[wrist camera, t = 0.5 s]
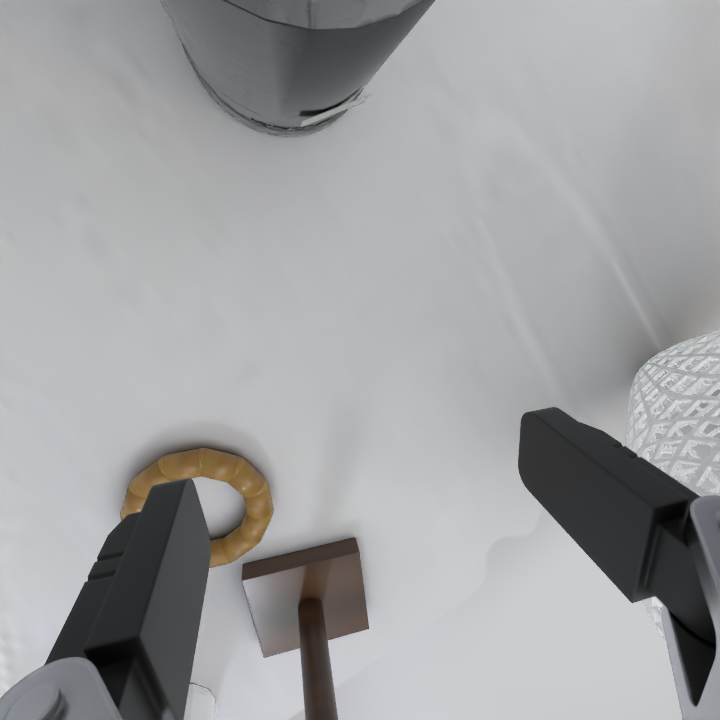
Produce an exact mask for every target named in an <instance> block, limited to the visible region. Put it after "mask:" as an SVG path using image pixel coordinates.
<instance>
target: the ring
mask: <svg viewBox="0 0 720 720" xmlns="http://www.w3.org/2000/svg"><path fill="white" fill-rule="evenodd" d="M196 477H206V478H210V479H215V480H219V481H224V482H227V483H228V484H230V485H231V486H232V487H233V488H234V489H236V490H237V491H238V492H239V493H240V494H242V495H243V498H244V502H245V505H246V509H247V512H246V514H245V516H244V519H243V521H242V523H241V525H240V526H239V527H238V528H236V529H235V530H234V531H232V532H231V533H230V534H228V535H227V536H226V537H224V538H220V539H215V540H211V541H210V545H211V557H210V565H209V568H212V567H216V566H221V565H225V564H229V563H232V562H234V561H235V560H237V559H238V558H239V557H241V556H242V555H243V554H245V553H246V552H247V551H249V550H250V549H252V548H253V547H254V546H256V545H257V544H258V543H259V542H260V541H261V539H262V537H263V535H264V533H265V531H266V529H267V526H268V524H269V522H270V520H271V517H272V515H273V510H274V509H273V504H272V499H271V495H270V490H269V486H268V482H267V480H266V478H265V477H264V476H262V475H261V474H260V473H259V472H258V471H257V470H256V469H255V468H254V467H252V466H251V465H250V464H249V463H248V462H247V461H246V460H245V459H243V458H242V457H240V456H237V455H233V454H229V453H224V452H220V451H216V450H212V449H208V448H199V449H194V450H189V451H183V452H178V453H173V454H168V455H164V456H162V457H161V458H159V459H158V460H157V461H155V462H154V463H153V464H152V465H150V466H149V467H148V468H146V469H145V470H144V471H142V472H141V473H140V474H138V475H137V476H136V477H135V478H134V479H133V480H132V481H131V483H130V485H129V488H128V491H127V494H126V497H125V500H124V503H123V506H122V509H121V512H120V518H121V521H122V520H123V519H124V518H125V517H126V516H127V515H128V514H132V513H137V512H141V510H142V508H143V506H144V503H145V501H146V499H147V496H148V494H149V491H150V489H151V487H152V486H153V485H156V484H161V483H166V482H171V481H176V480H181V479H186V478H196Z"/></svg>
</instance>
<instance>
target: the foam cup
mask: <svg viewBox="0 0 720 720" xmlns="http://www.w3.org/2000/svg"><path fill="white" fill-rule="evenodd" d="M184 720H215V697H214V696H213V695H212V693H211V692H210V691H209V690H208V689H207V688H204V687H201V686H198V685H196V684H189V690H188V696H187V702H186V708H185V714H184Z"/></svg>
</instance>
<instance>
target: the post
mask: <svg viewBox="0 0 720 720" xmlns="http://www.w3.org/2000/svg"><path fill="white" fill-rule="evenodd" d="M242 583H243V587H244V590H245V594H246V597H247V601H248V604H249V608H250V611H251V615H252V618H253V622H254V625H255V629H256V632H257V636H258V639H259V643H260V646H261V650H262V653H263V657H264V658H265V657H269V656H273V655H276V654H280V653H283V652H287V651H291V650H294V649H298V648H300V650H301V664H302V678H303V692H304V706H305V720H338V715H337V708H336V701H335V693H334V686H333V678H332V671H331V664H330V656H329V649H328V641H327V640H330V639H334V638H337V637H341V636H345V635H348V634H352V633H355V632H359V631H363V630H366V629H369V625H368V617H367V609H366V601H365V593H364V585H363V577H362V569H361V561H360V553H359V549H358V545H357V541H356V538H352V539H348V540H344V541H339V542H335V543H331V544H327V545H323V546H318V547H314V548H310V549H306V550H302V551H298V552H293V553H289V554H285V555H281V556H277V557H272V558H268V559H264V560H260V561H256V562H252V563H247V564H243V569H242Z"/></svg>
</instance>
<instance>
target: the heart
mask: <svg viewBox="0 0 720 720" xmlns="http://www.w3.org/2000/svg"><path fill="white" fill-rule="evenodd" d="M716 346H718V347H717V348H715V349H714V350H713V351H708V352H706V350H708V349H709V348H711V347H716ZM694 351H696V352H694ZM677 352H678V353H677ZM690 352H694V353H693V354H688V353H690ZM684 359H685V360H684ZM695 359H701V360H698V361H693V360H695ZM666 360H670V361H669V362H668V363H666V364H664V362H665V361H666ZM681 360H684V361H683V362H682V363H681V364H680V365H677V364H676V362H678V361H681ZM715 360H718V361H717V362H716V363H714V364H713V365H712V366H711V365H710V362H709V361H715ZM692 361H693V362H692ZM693 363H696V364H695V365H694V366H693V365H692V364H693ZM705 364H706V366H704V365H705ZM673 365H675V366H676V368H670V367H672V366H673ZM687 365H690V366H691V368H690V369H689V370H686V369H684V368H685V367H686V366H687ZM700 368H707V369H706V371H705V372H703V373H700V372H696V371H697V370H699V369H700ZM719 368H720V330H717V331H714V332H711V333H708V334H705V335H702V336H699V337H696V338H693V339H690V340H687V341H684V342H681V343H679V344H676V345H674V346H672V347H670V348H668V349H666V350H664V351H662V352H660V353H658V354H656V355H655V356H653V357H652V358H651V359H649V360H648V361H647V362H646V363H645V364H644V365H643V366H642V367H641V368H640V369H639V371H638V372H637V374H636V376H635V378H634V380H633V383H632V388H631V392H630V398H629V407H628V420H627V434H626V447H627V448H629V449H630V450H632V451H633V452H635V453H636V454H637V456H638V457H642V458H644V459H645V460H647V461H648V462H650V463H651V464H653V465H654V466H656V467H658V468H659V469H660V470H662V471H663V472H665V473H666V474H668V475H669V476H671V477H672V478H674V476H680V477H681V479H682V481H678V480H677V481H678V482H680V483H681V484H683V485H684V486H686V487H687V488H689V489H690V490H692V491H693V492H695V493H697V494H699V496H701V497H703V496H711V495H715V493H717V492H719V491H720V480H719V479H718V478H717V477H716V476H715V475H714V474H713V473H712V472H711V469H714V470H717V471H720V463H717V462H718V461H720V438H712V437H713V436H715V435H716V434H718V433H719V432H720V418H718V417H717V416H718V415H719V414H720V393H719V394H718V396H710V395H711V394H712V393H713V392H714V391H716V390H717V389H719V390H720V374H713V373H714V372H715V371H716V370H718V369H719ZM666 371H667V372H668V373H666V374H665V372H666ZM656 372H657V373H656ZM662 374H663V376H662V377H660V376H661V375H662ZM675 375H678V376H680V378H679V379H677V380H674V379H673V377H674V376H675ZM692 378H693V379H692ZM657 379H658V380H657ZM656 380H657V381H656ZM670 380H671V381H673V382H674V383H673V384H672V385H671V386H669V385H668V384H667V382H669V381H670ZM686 380H690V381H693V382H692V383H691V384H689V385H688V386H686V385H684V384H682V383H683V382H684V381H686ZM706 380H707V381H714V382H713V383H712V384H709V383H705V381H706ZM658 382H659V383H658ZM651 384H652V385H651ZM650 385H651V386H650ZM664 385H665V386H666V387H668V388H667V389H665V388H663V386H664ZM702 385H706V386H709V387H707V388H706V389H705V390H704V391H703V392H699V391H698V390H699V389H700V388H701V386H702ZM679 386H682V387H684V388H685V389H684V390H683V391H681V392H680V393H679V392H678V391H676V390H675V389H677V388H678V387H679ZM638 388H639V389H638ZM647 388H648V389H647ZM646 389H647V390H646ZM658 391H660V392H661V394H660V395H657V394H656V393H657V392H658ZM694 394H697V395H694ZM653 395H654V396H655V398H654V399H652V398H651V397H652V396H653ZM666 398H667V400H668V401H669V402H670V403H669V404H668V405H667V406H666V407H665V406H664V404H663V403H662V402H663V401H664V400H665V399H666ZM672 399H673V400H672ZM640 400H641V401H640ZM648 400H650V401H649V402H648ZM684 402H687V403H688V405H687V406H686V407H685V408H684V409H683V410H682V409H681V408H680V407H679V406H680V405H681V404H683V403H684ZM650 403H651V405H649V404H650ZM701 403H710V404H709V405H708V406H707V407H705V408H704V409H702V408H700V407H699V405H700V404H701ZM659 405H660V406H661V407H662V409H663V410H661V411H657V407H658V406H659ZM712 407H713V408H712ZM675 408H676V410H677V411H678V412H679V414H678V415H677V416H676V417H673V418H672V417H671V415H670V412H671V411H672V410H673V409H675ZM711 408H712V409H711ZM644 409H645V410H644ZM694 409H696V410H698V411H699V413H698V414H696V415H695V416H692V417H688V415H689V414H690V413H691V412H693V411H694ZM710 409H711V410H710ZM709 410H710V411H709ZM653 411H654V412H653ZM708 411H709V412H708ZM639 412H640V416H639ZM703 415H704V416H703ZM655 416H656V417H655ZM666 416H667V417H668V418H666V419H664V418H665V417H666ZM647 417H648V423H649V424H648V425H647V426H646V425H645V419H646V418H647ZM689 424H690V425H691V426H692V427H693V428H692V429H691V430H690V432H689V433H688V434H687V435H686V436H684V435H683V434H682V432H681V431H680V428H682V427H684V426H686V425H689ZM708 424H716V425H718V426H719V427H718V428H716V429H715V430H713V431H712V432H710V433H709V434H707V435H706V434H705V433H704V432H703V430H704V429H705V428H706V427H707V426H708ZM668 425H669V427H667V428H664V426H668ZM657 427H660V428H657ZM639 428H640V429H641V432H640V433H639ZM675 431H676V433H677V434H678V437H671V436H672V435H673V434H674V432H675ZM655 433H662V437H661V438H660V439H659V440H656V436H655ZM699 435H700V436H699ZM641 440H642V441H641ZM651 440H652V442H651ZM650 442H651V443H650ZM679 443H681V444H680V445H679V446H678V447H674V448H672V445H671V444H679ZM698 444H708V445H710V446H711V447H712V448H713V449H712V450H711V452H710V453H709V454H708V455H707V457H706V458H705V459H700V457H699V456H698V455H697V453H696V452H695V451H694V449H693V448H692V447H694V446H696V445H698ZM639 446H640V447H641V448H639ZM665 446H667V448H665ZM649 451H653V455H652V457H651V459H650V460H649V453H648V452H649ZM687 451H688V452H689V453H690V454H691V456H692V457H693V458H691V457H684V455H685V454H686V452H687ZM662 453H670V455H671V456H670V457H665V458H661V454H662ZM680 463H683V464H689V465H696V466H694V467H691V468H688V469H685V470H683V468H682V466H681V464H680ZM667 464H669V466H668V468H667V469H664V466H663V465H667ZM693 472H696V473H695V475H694V476H693V478H692V480H691V481H690V482H689V480H688V478H687V476H686V475H687V474H690V473H693ZM706 477H708V478H709V479H710V480H711V481H712V483H713V484H714V485H715V486H716V487H715V488H712V489H711V490H709V491H706V490H704V489H702V488H700V486H701V485H702V483H703V482H704V480H705V479H706ZM716 496H718V495H716ZM642 601H643V603H644V605H645V607H646V609H647V611H648V613H649V615H650V617H651V619H652V621H653V623H654V625H655V626H656V628H657V630H658V631H659V632H660V634H661V636H662V637H663V638H664V639H665V641H666V638H665V634H664V629H663V624H662V619H661V612H662V608H663V603H662V602H661V601H660V600H659V599H658V598H657V597H656V596H654V597H651V598H647V599H644V600H642ZM658 608H660V610H661V611H660V610H659V609H658Z"/></svg>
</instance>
